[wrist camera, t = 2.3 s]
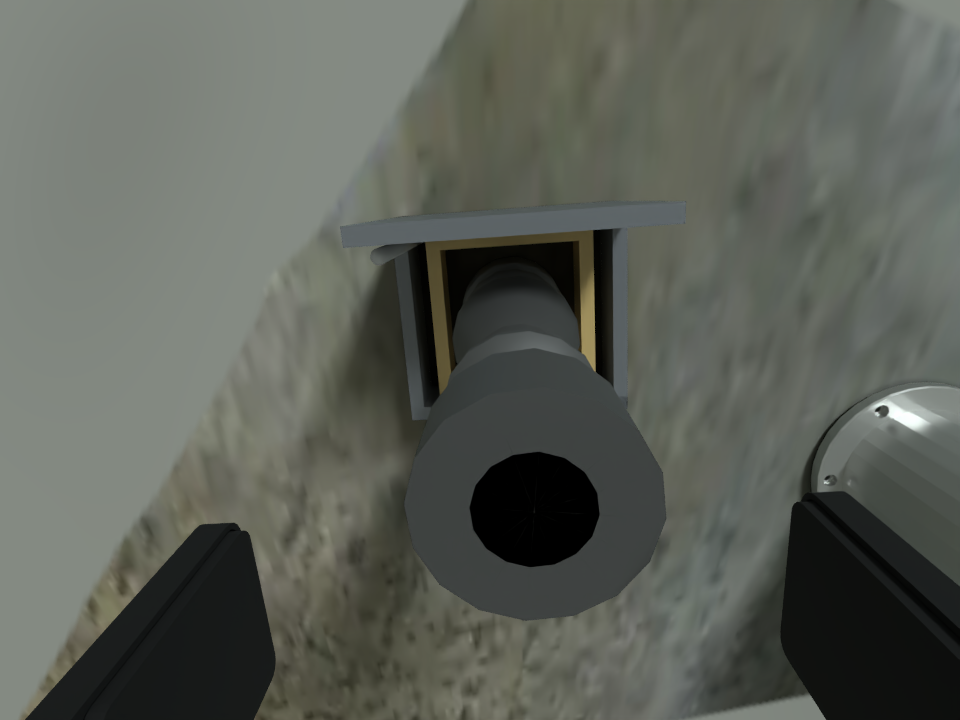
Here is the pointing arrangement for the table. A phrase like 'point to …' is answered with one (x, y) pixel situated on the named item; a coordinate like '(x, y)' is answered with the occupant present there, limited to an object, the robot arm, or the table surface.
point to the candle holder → (530, 461)
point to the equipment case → (506, 231)
